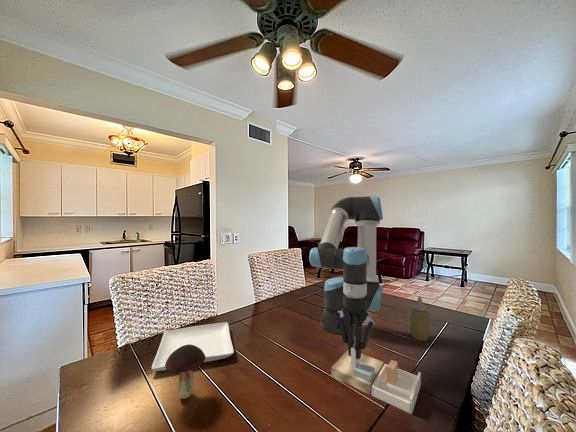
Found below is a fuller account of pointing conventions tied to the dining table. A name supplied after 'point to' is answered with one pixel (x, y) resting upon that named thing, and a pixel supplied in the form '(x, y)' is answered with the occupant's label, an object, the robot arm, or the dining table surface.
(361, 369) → the tile slate
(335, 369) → the beige flat block
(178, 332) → the square plate
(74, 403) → the dining table surface
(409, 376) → the tray
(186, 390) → the decorative mushroom
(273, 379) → the dining table surface
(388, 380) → the tile terracotta
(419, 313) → the squeeze bottle
